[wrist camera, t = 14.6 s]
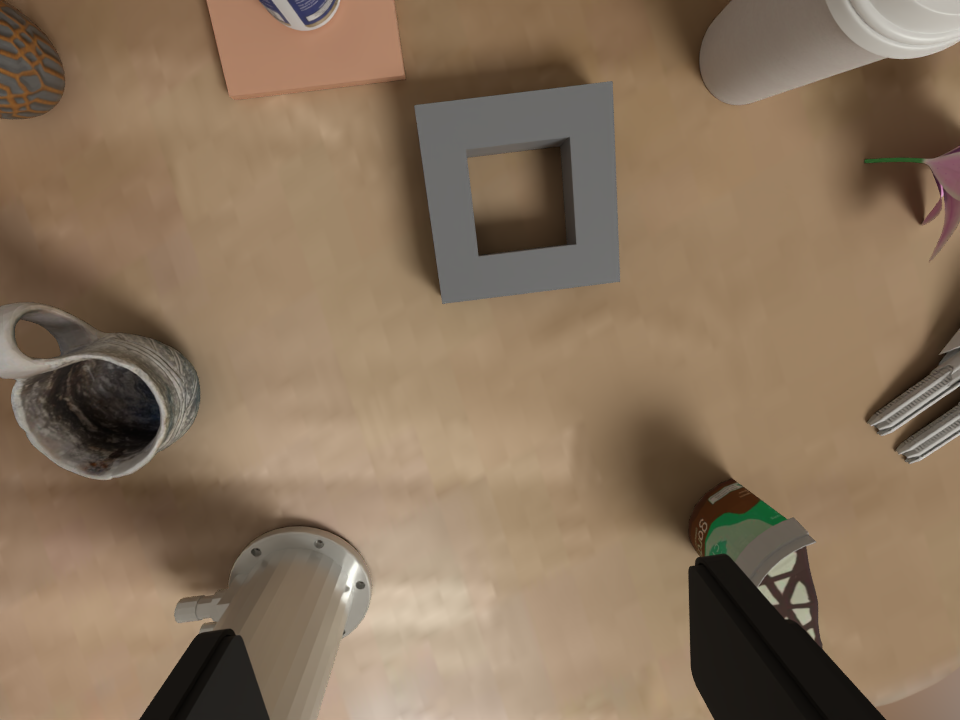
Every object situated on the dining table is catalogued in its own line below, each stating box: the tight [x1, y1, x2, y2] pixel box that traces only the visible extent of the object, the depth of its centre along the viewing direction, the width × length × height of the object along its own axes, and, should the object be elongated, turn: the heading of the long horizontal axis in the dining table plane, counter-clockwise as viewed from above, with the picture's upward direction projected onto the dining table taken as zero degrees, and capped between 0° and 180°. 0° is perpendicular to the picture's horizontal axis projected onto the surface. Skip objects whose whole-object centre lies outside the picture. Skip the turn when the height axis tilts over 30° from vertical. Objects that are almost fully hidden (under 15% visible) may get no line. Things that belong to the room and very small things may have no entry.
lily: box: [864, 146, 960, 262], centre depth 31 cm, size 11×11×9 cm
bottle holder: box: [414, 81, 620, 304], centre depth 32 cm, size 13×13×3 cm
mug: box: [0, 302, 200, 480], centre depth 31 cm, size 10×12×10 cm
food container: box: [688, 479, 824, 651], centre depth 37 cm, size 12×6×10 cm, turn 18°
